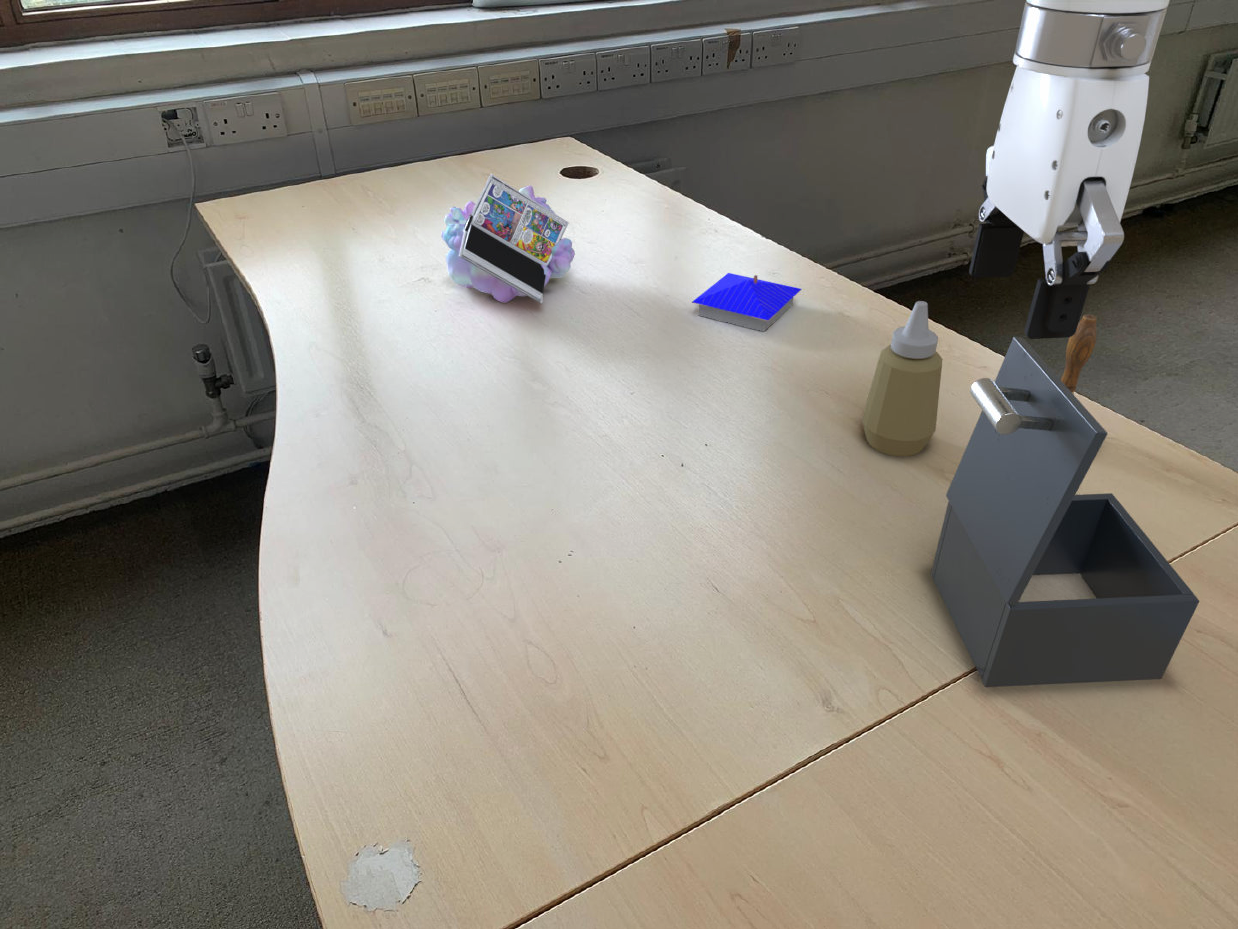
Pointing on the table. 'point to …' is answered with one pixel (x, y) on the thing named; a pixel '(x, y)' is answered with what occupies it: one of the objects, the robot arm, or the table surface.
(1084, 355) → the hand bell
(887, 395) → the squeeze bottle
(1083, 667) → the grey storage bin
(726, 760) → the table surface
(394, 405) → the table surface
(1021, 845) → the table surface
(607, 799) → the table surface
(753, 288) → the roof
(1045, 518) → the bin lid
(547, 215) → the pastel cloud comic display
